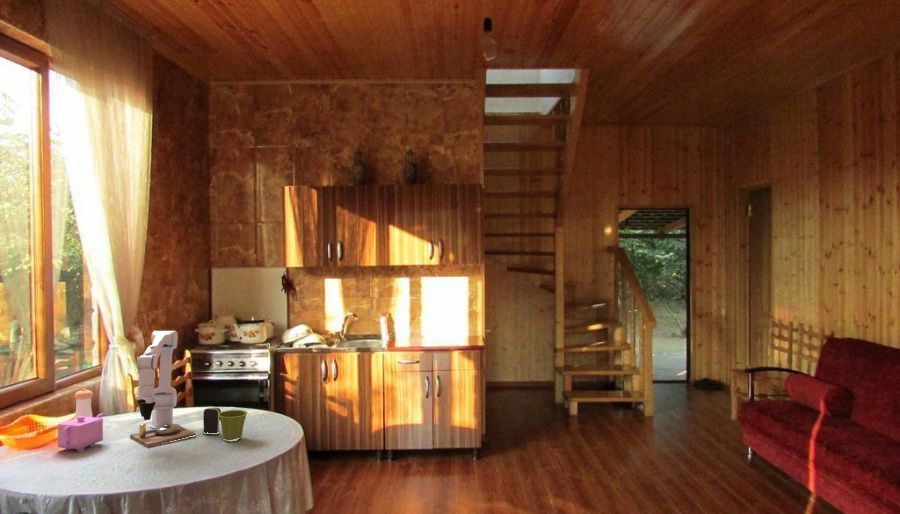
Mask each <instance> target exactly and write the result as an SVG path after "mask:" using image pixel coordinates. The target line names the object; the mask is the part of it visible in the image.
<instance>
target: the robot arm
mask: <svg viewBox="0 0 900 514" xmlns="http://www.w3.org/2000/svg"><path fill="white" fill-rule="evenodd" d="M178 336H179V335H178V332H177V330H153V332H152V333H151V336H150V337H151V338H150V340H151V345H149V346H148V347H146V349H145V351H144V353H143V354H142V355H140V356H138V358H137V361H136V368H137V374H138V394H137V395H135V396H134V398H135V399H136V402H137V404H138V407H139V412H140V417H142V418H143V420H144V421H150V420H152V421H151V425H149V428H151V429H153V428H155V427H157V426H160V425H164V424H174V423H173V422H174V421H173V420H174V419H173V417H174V416H173V415H174V414H173V412H174V408H175V407H176V405H177V402H178V395H177V390H176V388H174V387H172V386H171V382H172V380H171V379H172V363H173V352H174V350H175V349H177V348H178V341H179V340H178V338H179V337H178ZM159 357H160V363H159V377H158V378H159V380H158V386H157V388H155V377H156V376H155V373H156V371H155V369H156V368H157V365H158V361H159Z"/></svg>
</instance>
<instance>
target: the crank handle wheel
mask: <svg viewBox="0 0 900 514" xmlns="http://www.w3.org/2000/svg"><path fill="white" fill-rule="evenodd" d="M138 429H139V430H138V431H139V432H138V433H139V437H145V436H146V434H151V433H154V434H155V435H171V434H175V433H177V432H179V431H180V424H176V423H173V424H164V425H160V426H157V427H155V428H154V429H153V428H151V429H148V430H147V423H140V424H139V428H138Z"/></svg>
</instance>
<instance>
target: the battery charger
mask: <svg viewBox="0 0 900 514" xmlns="http://www.w3.org/2000/svg"><path fill="white" fill-rule="evenodd" d="M221 412H222V411H221V408H220V407H207V408H205V409H204V410H203V416H202V417H203V418H202V419H203V420H202V421H203V433H204V432H205V433H207V432H208V433H217V432H219V431H220V417H219V416H218V414H219V413H221Z"/></svg>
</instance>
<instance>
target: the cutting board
mask: <svg viewBox="0 0 900 514" xmlns="http://www.w3.org/2000/svg"><path fill="white" fill-rule="evenodd" d="M129 435H130V436H129V439H130V440H133V441H134V442H136V443H139V444H140V445H142V446H143V445H144V446H143V447H145V446H146V448H147V447H148V448H151V447H150V446H152V447H155V446H154V445H157V446H159V445H158V444H161V445H163V444H162V443H165V442H170V441H174V440H178V439H182V438H186V437H189V436H193V435H196V432H194V431H191V430H190V429H188V428H185V427H183V426H180V431H179V432H177V433H175V434H171V435H155V434H154V433H151V434H146V436H145V437H139V432H137V433H132V434H129ZM196 436H197V435H196ZM170 443H171V442H170Z"/></svg>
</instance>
